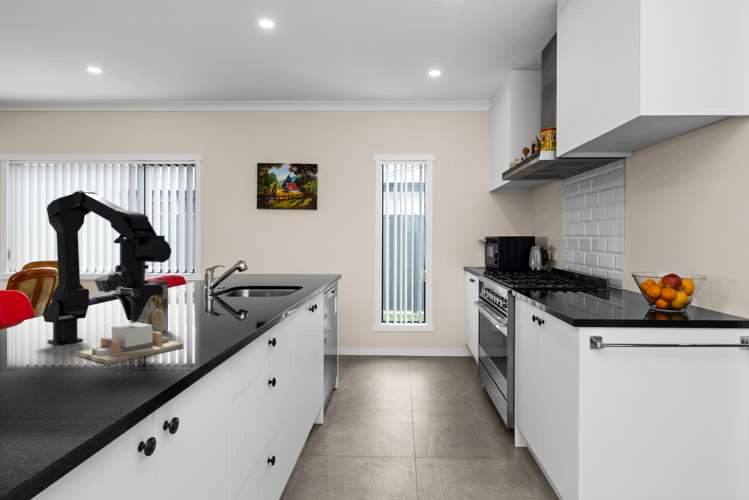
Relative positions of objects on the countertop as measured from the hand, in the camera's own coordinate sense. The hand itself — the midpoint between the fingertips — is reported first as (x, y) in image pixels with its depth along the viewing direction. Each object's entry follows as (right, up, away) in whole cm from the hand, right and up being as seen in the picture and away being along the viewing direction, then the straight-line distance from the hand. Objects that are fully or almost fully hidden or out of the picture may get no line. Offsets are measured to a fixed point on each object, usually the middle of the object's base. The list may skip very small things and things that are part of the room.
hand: (132, 320), depth 115 cm
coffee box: (-7, -8, +22) cm, 24 cm away
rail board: (0, -8, 0) cm, 8 cm away
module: (0, -7, 0) cm, 7 cm away
